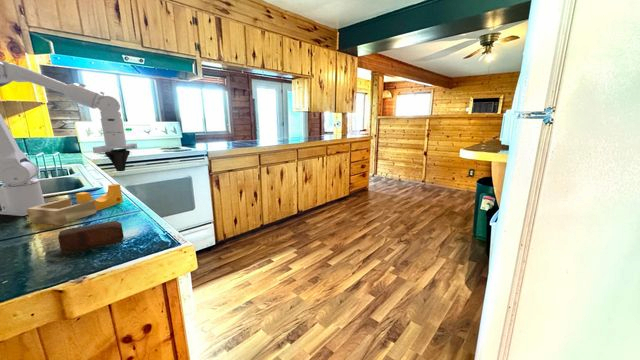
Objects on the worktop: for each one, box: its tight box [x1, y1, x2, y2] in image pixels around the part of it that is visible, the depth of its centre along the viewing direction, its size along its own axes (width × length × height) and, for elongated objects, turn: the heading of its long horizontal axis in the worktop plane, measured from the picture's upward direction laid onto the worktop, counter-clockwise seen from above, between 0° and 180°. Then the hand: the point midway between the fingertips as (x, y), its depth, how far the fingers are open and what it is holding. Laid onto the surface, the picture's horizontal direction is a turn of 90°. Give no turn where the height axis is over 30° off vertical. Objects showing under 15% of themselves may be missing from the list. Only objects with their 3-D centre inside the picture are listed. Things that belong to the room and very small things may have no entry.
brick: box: [57, 220, 124, 255], centre depth 58 cm, size 11×4×5 cm, turn 130°
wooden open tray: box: [27, 197, 98, 226], centre depth 74 cm, size 10×10×4 cm
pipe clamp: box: [75, 183, 124, 212], centre depth 82 cm, size 12×4×6 cm, turn 171°
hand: (120, 170), depth 90 cm, fingers closed
